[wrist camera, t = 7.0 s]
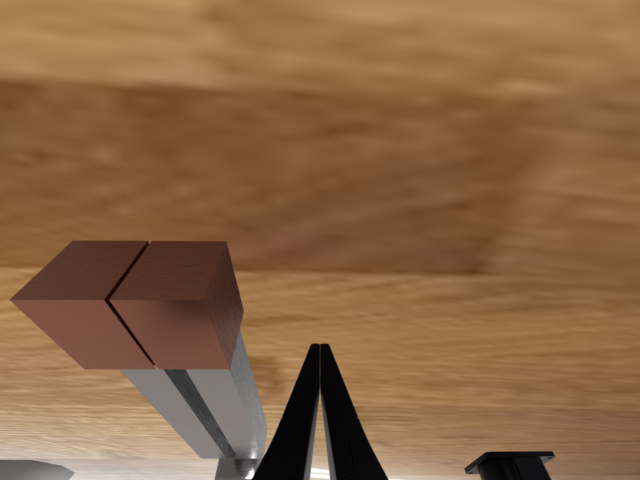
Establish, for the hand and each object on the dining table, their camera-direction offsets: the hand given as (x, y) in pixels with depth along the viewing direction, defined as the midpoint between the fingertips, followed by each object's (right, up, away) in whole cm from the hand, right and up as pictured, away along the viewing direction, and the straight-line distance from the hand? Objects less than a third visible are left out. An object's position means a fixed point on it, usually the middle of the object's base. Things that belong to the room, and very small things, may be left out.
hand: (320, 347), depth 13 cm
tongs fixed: (-7, -5, +5) cm, 10 cm away
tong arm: (-5, -4, +4) cm, 8 cm away
